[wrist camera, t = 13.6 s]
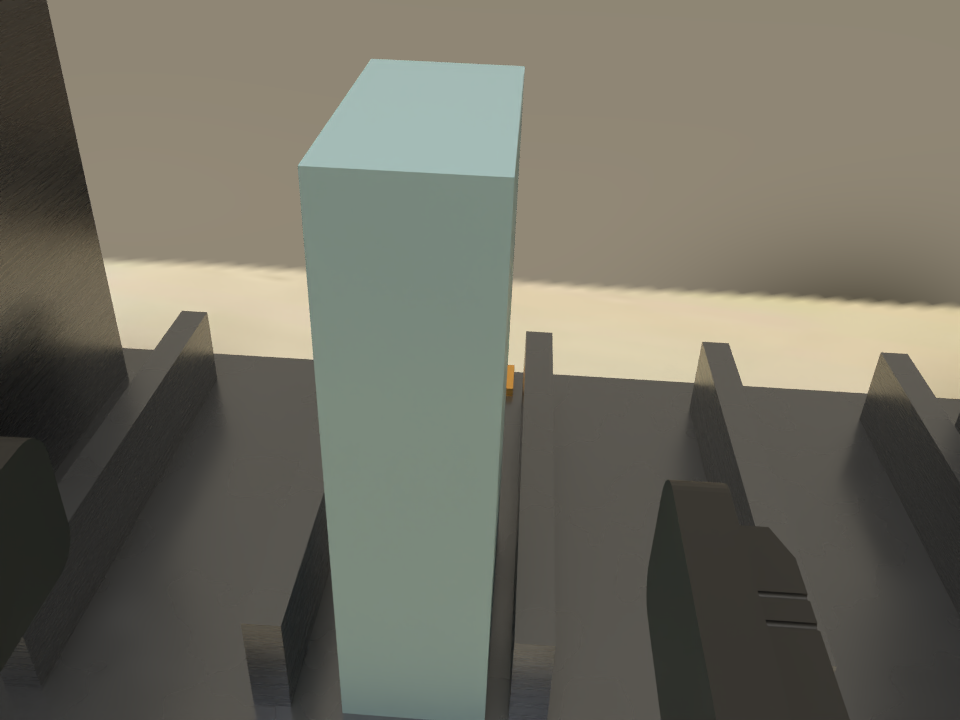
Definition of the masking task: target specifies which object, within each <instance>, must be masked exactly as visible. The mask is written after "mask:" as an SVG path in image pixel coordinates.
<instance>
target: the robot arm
mask: <svg viewBox="0 0 960 720" xmlns="http://www.w3.org/2000/svg"><path fill="white" fill-rule="evenodd" d="M69 549H70V527H69V523H68V519H67V516H66V513H65V509H64V506H63V502H62V499H61V495H60V492H59V489H58V485H57V482H56V478H55V475H54V471H53V468H52V464H51V461H50V458H49V454H48V451H47V449H46V447H45V445H44V444H43V443H42V442H41V441H40V440H38V439H35V438H21V437H5V436H0V672H1V671H2V669H3V668H4V666H5V664H6V663H7V661H8V659H9V658H10V656H11V655H12V653H13V651H14V650H15V648H16V647H17V645H18V643H19V642H20V640H21V639H22V637H23V635H24V634H25V632H26V630H27V629H28V627H29V626H30V624H31V622H32V621H33V619H34V618H35V616H36V614H37V613H38V611H39V610H40V608H41V606H42V605H43V603H44V601H45V600H46V598H47V597H48V595H49V593H50V592H51V590H52V589H53V587H54V585H55V584H56V582H57V581H58V579H59V577H60V576H61V574H62V572H63V570H64V567H65V565H66V562H67V558H68V554H69ZM807 595H808V593H807V590H806V587H805V584H804V581H803V579H802V576H801V573H800V570H799V567H798V564H797V561H796V558H795V557H794V556H793V555H792V554H791V552H790V551H789V550H788V549H787V548H786V547H785V545H784V544H783V543H782V542H781V541H780V540H779V539H778V537H777V536H776V535H775V534H774V533H773V532H772V530H771V529H770V528H769V527H760V526H744V525H739V521H738V518H737V514H736V510H735V507H734V503H733V499H732V496H731V492H730V489H729V487H728V485H727V484H726V483H717V482H701V481H685V480H669V479H668V480H666V481H665V483H664V486H663V490H662V495H661V500H660V506H659V511H658V516H657V522H656V527H655V533H654V538H653V543H652V549H651V554H650V560H649V565H648V573H647V590H646V601H647V616H648V624H649V632H650V640H651V647H652V655H653V663H654V670H655V678H656V686H657V693H658V701H659V709H660V717H661V720H850V718H849V716H848V713H847V710H846V707H845V704H844V701H843V698H842V695H841V692H840V689H839V686H838V683H837V680H836V677H835V674H834V671H833V668H832V665H831V662H830V659H829V656H828V653H827V650H826V647H825V644H824V641H823V638H822V635H821V632H820V631H818V630H817V620H816V617H815V614H814V611H813V608H812V605H811V602H810V601H808V600H807Z"/></svg>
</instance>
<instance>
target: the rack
mask: <svg viewBox="0 0 960 720" xmlns="http://www.w3.org/2000/svg"><path fill="white" fill-rule="evenodd" d="M0 436H5V437H21V438H35V439H38V440H40V441H41V442H42V443H43V444H44V445H45V447H46V449H47V451H48V454H49V458H50V461H51V464H52V468H53V471H54V475H55V478H56V482H57V485H58V489H59V492H60V495H61V499H62V502H63V506H64V509H65V513H66V516H67V519H68V523H69V527H70V549H69V554H68V558H67V562H66V565H65V567H64V570H63V572H62V574H61V576H60V577H59V579H58V581H57V582H56V584H55V585H54V587H53V589H52V590H51V592H50V593H49V595H48V597H47V598H46V600H45V601H44V603H43V605H42V606H41V608H40V610H39V611H38V613H37V614H36V616H35V618H34V619H33V621H32V622H31V624H30V626H29V627H28V629H27V630H26V632H25V634H24V635H23V637H22V639H21V640H20V642H19V643H18V645H17V647H16V648H15V650H14V651H13V653H12V655H11V656H10V658H9V659H8V661H7V663H6V664H5V666H4V668H3V669H2V671H1V672H0V720H426V719H413V718H400V717H387V716H374V715H362V714H349V713H342V701H341V688H340V676H339V664H338V652H337V640H336V627H335V615H334V603H333V591H332V578H331V566H330V554H329V542H328V529H327V517H326V505H325V493H324V480H323V468H322V456H321V444H320V432H319V419H318V407H317V395H316V383H315V370H314V360H309V359H292V358H276V357H260V356H243V355H227V354H213V347H212V341H211V334H210V328H209V321H208V315H207V312H191V311H182V312H181V313H180V314H179V316H178V317H177V319H176V320H175V321H174V323H173V324H172V326H171V327H170V328H169V330H168V331H167V333H166V334H165V335H164V337H163V338H162V340H161V341H160V342H159V344H158V345H157V347H156V348H155V349H154V350H145V349H129V348H122V346H121V341H120V337H119V332H118V327H117V323H116V318H115V314H114V309H113V304H112V300H111V295H110V291H109V286H108V281H107V277H106V272H105V268H104V263H103V258H102V254H101V250H100V245H99V240H98V235H97V231H96V226H95V221H94V217H93V212H92V208H91V203H90V198H89V194H88V190H87V185H86V180H85V175H84V171H83V166H82V162H81V157H80V153H79V148H78V143H77V139H76V134H75V129H74V125H73V121H72V116H71V111H70V106H69V102H68V97H67V93H66V88H65V83H64V79H63V74H62V70H61V65H60V60H59V56H58V51H57V47H56V42H55V37H54V33H53V28H52V24H51V19H50V14H49V10H48V5H47V1H46V0H0ZM668 479H669V480H685V481H701V482H717V483H726V484H727V485H728V487H729V489H730V492H731V496H732V499H733V503H734V507H735V510H736V514H737V518H738V521H739V525H744V526H760V527H769V528H770V529H771V530H772V532H773V533H774V534H775V535H776V536H777V537H778V539H779V540H780V541H781V542H782V543H783V544H784V545H785V547H786V548H787V549H788V550H789V551H790V552H791V554H792V555H793V556H794V557H795V558H796V561H797V564H798V567H799V570H800V573H801V576H802V579H803V581H804V584H805V587H806V590H807V593H808V595H807V600H808V601H810V602H811V605H812V608H813V611H814V614H815V617H816V620H817V630H818V631H820V632H821V635H822V638H823V641H824V644H825V647H826V650H827V653H828V656H829V659H830V662H831V665H832V668H833V671H834V674H835V677H836V680H837V683H838V686H839V689H840V692H841V695H842V698H843V701H844V704H845V707H846V710H847V713H848V716H849V718H850V720H960V399H946V398H936V397H935V395H934V394H933V392H932V391H931V389H930V388H929V386H928V385H927V383H926V382H925V380H924V379H923V377H922V376H921V374H920V372H919V371H918V369H917V368H916V366H915V365H914V363H913V362H912V360H911V359H910V357H909V356H908V354H897V353H881V354H880V357H879V360H878V363H877V366H876V369H875V372H874V375H873V378H872V382H871V385H870V388H869V391H868V394H864V393H848V392H831V391H815V390H799V389H782V388H766V387H750V386H743V385H742V382H741V379H740V376H739V373H738V370H737V367H736V364H735V361H734V358H733V355H732V352H731V349H730V346H729V343H713V342H702V346H701V351H700V356H699V362H698V367H697V372H696V377H695V382H694V383H684V382H668V381H652V380H635V379H619V378H603V377H586V376H570V375H554V374H553V354H552V333H544V332H528V331H526V344H525V358H524V373H521V372H514V365H508V367H507V384H506V402H505V419H504V436H503V454H502V471H501V489H500V506H499V524H498V538H497V553H496V567H495V581H494V595H493V610H492V624H491V638H490V652H489V667H488V681H487V695H486V710H485V720H661V717H660V709H659V701H658V693H657V686H656V678H655V670H654V663H653V655H652V647H651V640H650V632H649V624H648V616H647V601H646V590H647V573H648V565H649V560H650V554H651V549H652V543H653V538H654V533H655V527H656V522H657V516H658V511H659V506H660V500H661V495H662V490H663V486H664V483H665V481H666V480H668Z"/></svg>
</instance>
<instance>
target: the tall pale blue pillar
mask: <svg viewBox="0 0 960 720" xmlns="http://www.w3.org/2000/svg"><path fill="white" fill-rule="evenodd" d="M524 70H525V67H524V66H506V65H486V64H466V63H446V62H424V61H405V60H404V61H403V60H383V59H371V60H370V61H369V63H368V64H367V66H366V67H365V69H364V70H363V72H362V73H361V75H360V76H359V77H358V79H357V80H356V82H355V83H354V85H353V86H352V88H351V89H350V91H349V92H348V93H347V95H346V96H345V98H344V99H343V101H342V102H341V104H340V105H339V107H338V108H337V109H336V111H335V112H334V114H333V115H332V117H331V118H330V120H329V121H328V123H327V124H326V125H325V127H324V128H323V130H322V131H321V133H320V134H319V136H318V137H317V139H316V140H315V142H314V143H313V144H312V146H311V147H310V149H309V150H308V152H307V153H306V155H305V156H304V158H303V159H302V161H301V162H300V163H299V165H298V175H299V186H300V197H301V198H300V199H301V211H302V224H303V234H304V247H305V260H306V273H307V285H308V297H309V309H310V321H311V334H312V346H313V358H314V370H315V383H316V395H317V407H318V419H319V432H320V444H321V456H322V468H323V480H324V493H325V505H326V517H327V529H328V542H329V554H330V566H331V578H332V591H333V603H334V615H335V627H336V640H337V652H338V664H339V676H340V688H341V701H342V713H349V714H362V715H374V716H387V717H400V718H413V719H426V720H485V710H486V695H487V681H488V667H489V652H490V638H491V624H492V610H493V595H494V581H495V567H496V553H497V538H498V524H499V506H500V489H501V471H502V454H503V436H504V419H505V402H506V384H507V367H508V349H509V332H510V314H511V297H512V280H513V262H514V245H515V226H516V210H517V192H518V174H519V158H520V140H521V122H522V105H523V104H522V103H523V88H524Z"/></svg>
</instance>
